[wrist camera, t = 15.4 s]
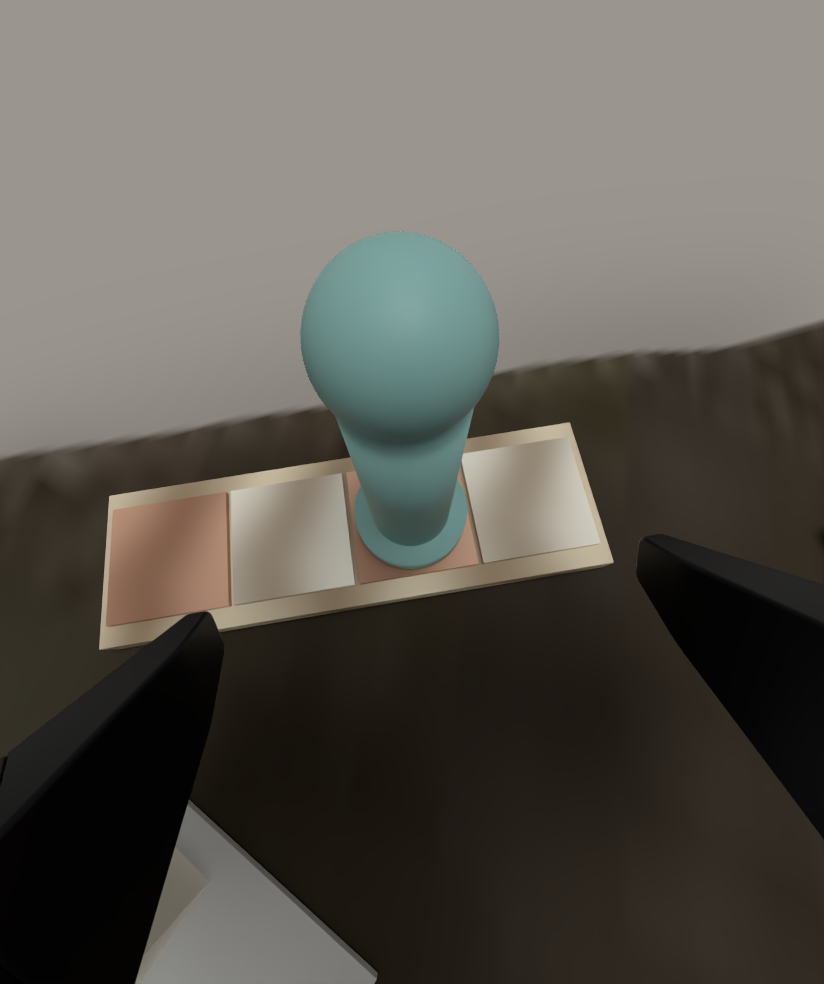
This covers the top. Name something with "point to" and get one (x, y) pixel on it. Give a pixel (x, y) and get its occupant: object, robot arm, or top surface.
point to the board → (337, 540)
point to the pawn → (402, 383)
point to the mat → (247, 924)
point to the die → (172, 906)
